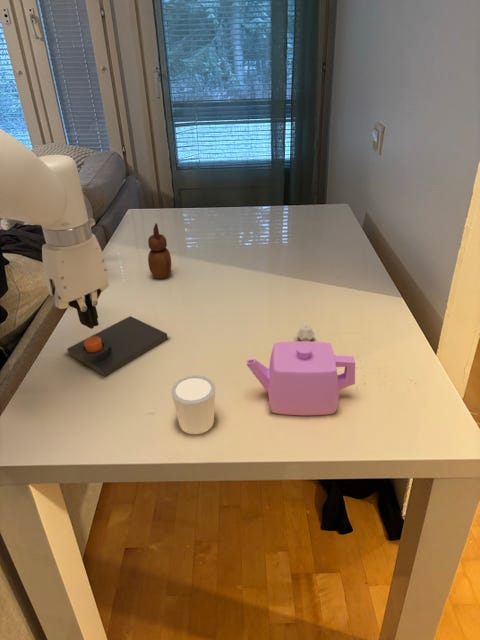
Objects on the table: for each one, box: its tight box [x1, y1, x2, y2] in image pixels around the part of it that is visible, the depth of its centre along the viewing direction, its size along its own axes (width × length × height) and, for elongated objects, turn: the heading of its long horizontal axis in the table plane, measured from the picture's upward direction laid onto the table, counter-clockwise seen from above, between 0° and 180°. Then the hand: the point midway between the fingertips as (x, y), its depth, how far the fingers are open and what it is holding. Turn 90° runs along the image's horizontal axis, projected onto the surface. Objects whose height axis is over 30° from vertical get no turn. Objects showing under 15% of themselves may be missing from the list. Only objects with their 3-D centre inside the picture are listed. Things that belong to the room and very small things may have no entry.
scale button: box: [84, 335, 103, 352], centre depth 90 cm, size 3×3×2 cm
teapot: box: [246, 340, 356, 416], centre depth 78 cm, size 18×10×10 cm, turn 87°
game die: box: [296, 324, 315, 342], centre depth 95 cm, size 4×4×3 cm
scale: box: [67, 315, 169, 377], centre depth 95 cm, size 17×12×3 cm
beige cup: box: [170, 375, 216, 435], centre depth 74 cm, size 7×7×7 cm
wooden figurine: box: [147, 223, 172, 280], centre depth 120 cm, size 7×6×15 cm
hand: (90, 324), depth 88 cm, fingers closed
